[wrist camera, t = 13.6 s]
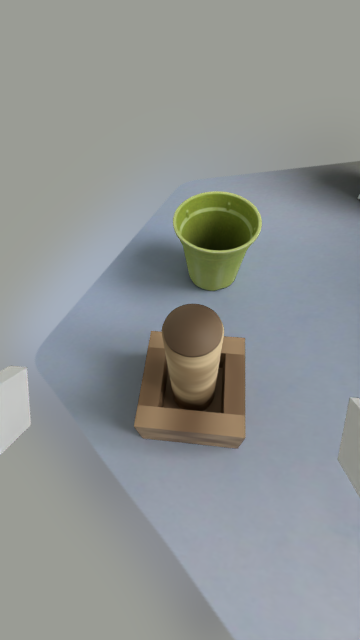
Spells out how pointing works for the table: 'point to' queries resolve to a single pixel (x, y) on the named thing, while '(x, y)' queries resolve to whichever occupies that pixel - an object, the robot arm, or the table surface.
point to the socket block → (187, 425)
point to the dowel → (193, 354)
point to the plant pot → (216, 236)
